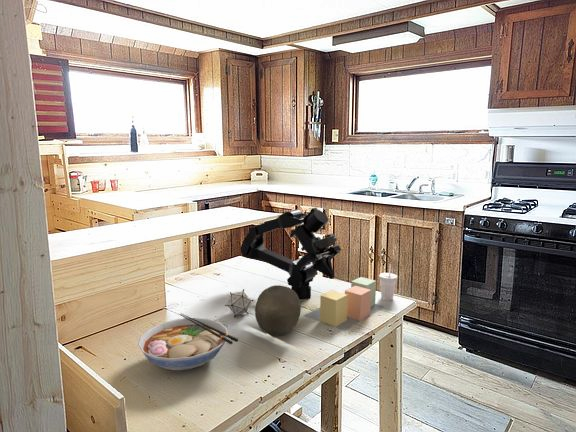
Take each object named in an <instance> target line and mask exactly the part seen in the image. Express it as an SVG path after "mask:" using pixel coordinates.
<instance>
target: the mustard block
mask: <svg viewBox="0 0 576 432" xmlns="http://www.w3.org/2000/svg"><path fill="white" fill-rule="evenodd" d="M319 297H320V299H319V301H320V304H319V305H320V307H319V308H320V321H322V322H324V323H323V324H325V323H327V324H330V325H333V326H335V327H334V328H336V326H338V325H340V324H341V323H343V322H345V321H347V297H348V295H347V294H345V293H343V292H340V291H336V290H333V289H331V290H329V291H327V292H325V293H323V294H320V296H319ZM322 322H321V323H322ZM327 324H326V325H327ZM330 325H329V326H330ZM333 326H332V327H333Z"/></svg>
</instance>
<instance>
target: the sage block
mask: <svg viewBox="0 0 576 432" xmlns="http://www.w3.org/2000/svg"><path fill="white" fill-rule="evenodd" d="M353 286H359V287H362V288H366V289H370V290H371V306H373V305H375V304H376V295H377V293H376V291H377V289H376V288H377V280H375V279H370V278H367V277H363V276H360V277H358V278H356V279H353V280H351V284H350V288H351V287H353Z"/></svg>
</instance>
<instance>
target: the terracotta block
mask: <svg viewBox="0 0 576 432" xmlns="http://www.w3.org/2000/svg"><path fill="white" fill-rule="evenodd" d="M344 294H347V295H348V297H347V316H348V317H351V318H354V319H357V320H359V321H360V322H362V321H363V320H365V319H367V318H368V317H370V316H371V315H370V308H371V290H370V289H366V288H362V287H359V286H353V287H351V286H350V287H349V288H347V289H345V290H344ZM369 315H370V316H369ZM367 316H368V317H367ZM366 317H367V318H366ZM364 318H365V319H364ZM362 319H363V320H362ZM361 320H362V321H361Z"/></svg>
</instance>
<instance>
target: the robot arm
mask: <svg viewBox="0 0 576 432" xmlns="http://www.w3.org/2000/svg"><path fill="white" fill-rule="evenodd" d="M328 222H329V218H328V216H327V214H326V213H325V212H323V211H322V210H319V209H318V208H317V207H312V208H311V209H310V210H309V212H308V213H303V212H302V211H301V210H300V209H293V210H289V211H285V212H283V213H282V214H280V215H278V216H277V217H276V218H274V219H271V220H268V221H266V222H265V221H264V222H263V223H260V224H256V225H252V226H251V227H250V228H249V229H248V230H249V231H248V233H247V234H246V236H245V237H244V239H243V240H242V243H241V245H240V253H241V256H242V257H244V258H246V259H250V260H260V261H263V262H265V263H267V264H269V265H271V266H273V267H275V268H277V269H280V270H281V271H284V272H286V273H288V275H289V277H288V278H287V279H286V281H287V284H288V286H290V288H291V289H292V290H294V291H295V293H296V294H297V295H298V297H299V300H307V299H308V300H309V299H311V298H312V287H311V285H310V283H311V282H313V281H314V278H315V277H316V275H317V272H319V273H320V274H323V275H325V276H326V277H327V278H329V279H331V280H332V279H334V278H335V277H336V276H335V271H334V269H333V264H332V259H333V258H335V257H336V256H337V255H338V254H339V253H340V252H341V251H342V248H341V247H340V245H337V243H336V242H337V241H338V238H337V236H336V235H334V233H332V232H331V233H329V234H326V236H325V237H324V238H321V236H317V237H316V235H315V233H318V232H319V231H320V230H321V229H322V228H323V227H324V226H325V225H326V224H327V223H328ZM294 227H296V228H294ZM290 228H294V229H290ZM278 229H290V234H289V237H290V239H292V238H295V237H296V239H297V240H298V242H299V244H300V245H301V248H300V250H301V251H302V252H304V251H305V252H306V254H304V255H303V256H301V258H298V259H296V260H294V259H291V258H289V257H286V256H285V255H282V254H280V253H277V252H274V251H272V250H271V249H268V248H266V246H265V244H264V242H265V237H264V234H265V233H270V232H272V231H275V230H278Z"/></svg>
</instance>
